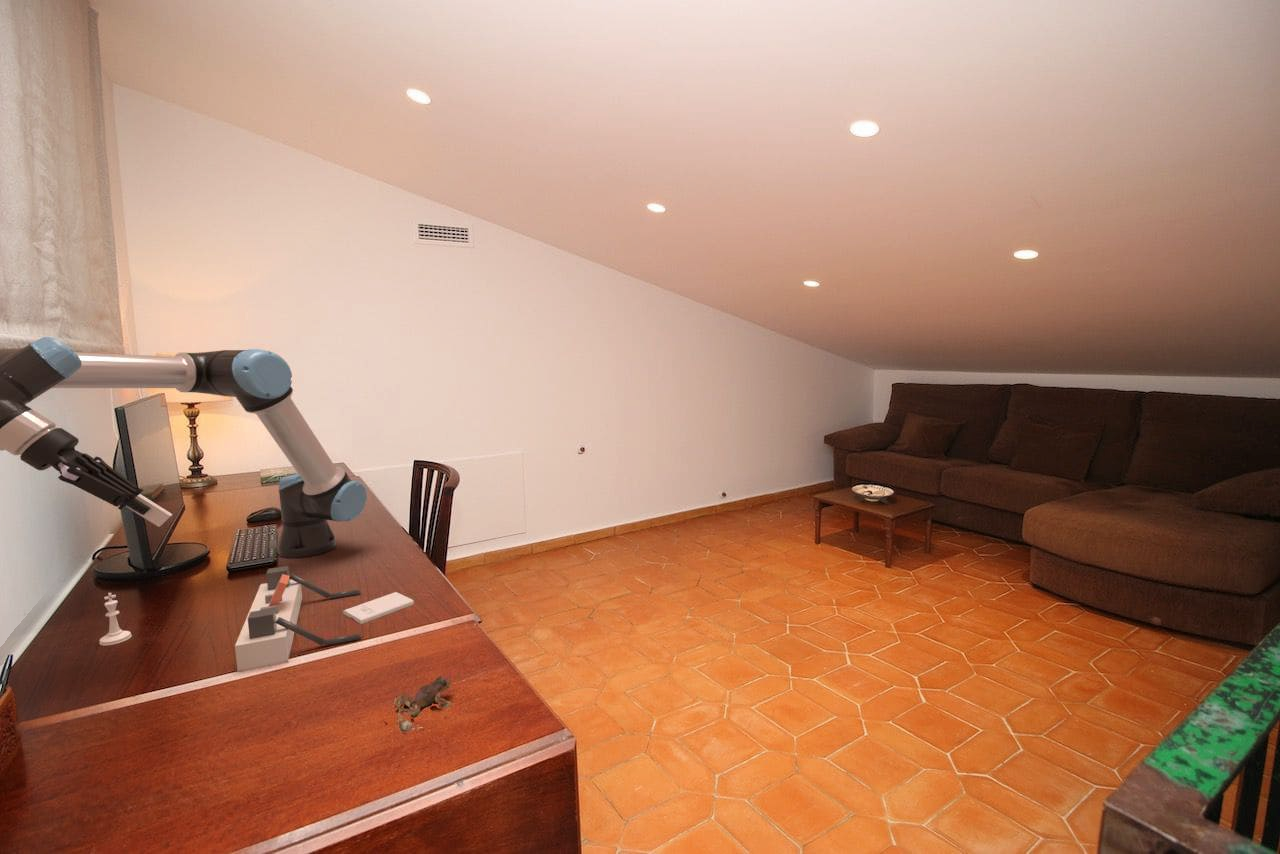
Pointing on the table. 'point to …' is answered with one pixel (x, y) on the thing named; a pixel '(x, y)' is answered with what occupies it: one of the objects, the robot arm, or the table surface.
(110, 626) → the chess piece
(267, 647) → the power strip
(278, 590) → the block
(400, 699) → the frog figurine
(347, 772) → the table surface
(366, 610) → the external hard drive
